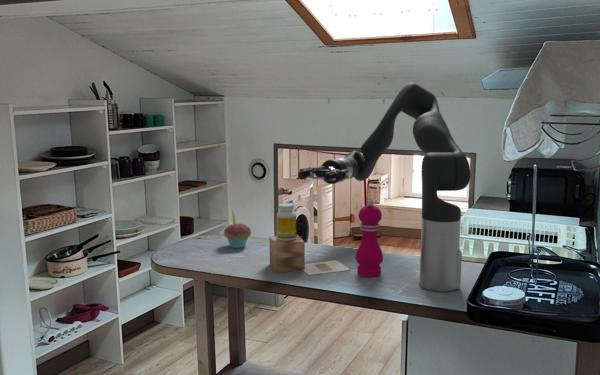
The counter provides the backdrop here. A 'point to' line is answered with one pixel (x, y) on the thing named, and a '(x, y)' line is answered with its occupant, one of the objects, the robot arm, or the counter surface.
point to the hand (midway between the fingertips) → (312, 176)
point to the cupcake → (237, 234)
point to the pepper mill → (369, 242)
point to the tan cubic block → (287, 254)
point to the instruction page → (324, 267)
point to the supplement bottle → (286, 222)
